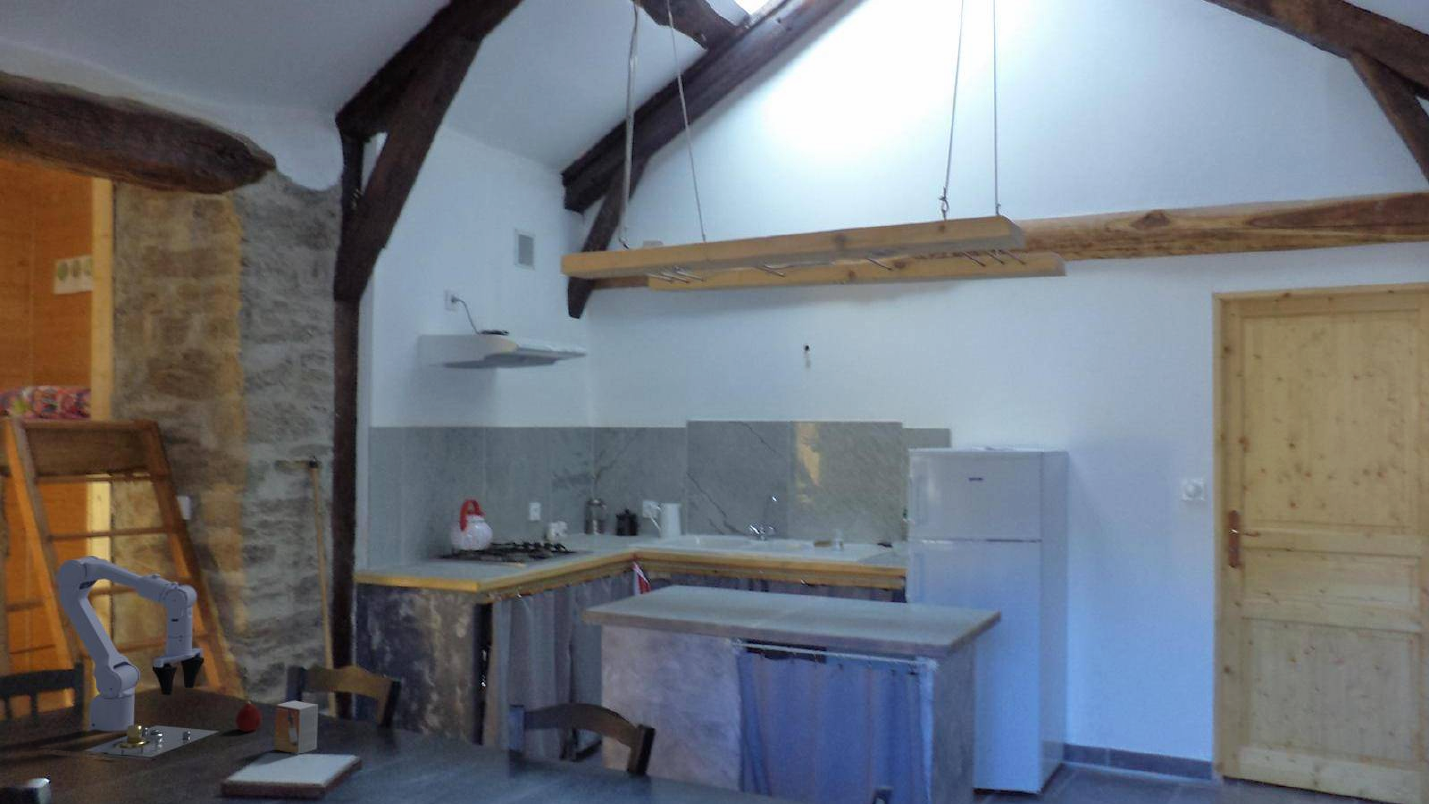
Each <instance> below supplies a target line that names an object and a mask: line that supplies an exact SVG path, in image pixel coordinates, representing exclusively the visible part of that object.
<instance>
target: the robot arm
mask: <svg viewBox="0 0 1429 804" xmlns="http://www.w3.org/2000/svg"><path fill="white" fill-rule="evenodd" d="M55 578H56V581H57V582H58V590H59V592H58V594H59V602H60V605H61V607H62V608H63V610H64V612H65V614H66V615H67V617H68V619H69V620H70V622H71V624H72V626H73V628H74V629H75V632H76V633H77V635H78V636H79V638H80V640H81V641H82V643H83V645H84V647H85V648H86V651H87V653H88V654H89V656H90V658H91V659H92V661H93V663H94V668H93V672H92V675H93V676H94V679H95V687H96V691H97V692H98V694H97V695H95V696H94V697H93V698H92V700H91V702H90V704H89V722H88V723H89V725H88V730H86V732H90V731H94V730H97V731H102V732H120V731H127V727H128V726H130V725H135V722H134V721H135V690H136V689H135V687H136V686H137V684H139V682H140V680H141V673H140V670H139V668H138V667H137V666H136V665H134V664H132V663H131V661H130V660H129V659H128V657H127V656H125V655H123V654H122V653H120V652H118V650H117V648H116V646H115V645H114V643H113V641H112V640H111V638H110V636H109V634H108V633H107V631H106V629H105V627H104V625H103V624H102V622H101V620H100V618H99V616H98V615H97V613H96V612H95V609H94V608H93V606H92V605H91V603H90V600H89V599H88V597H89V594H90V592H91V589H92V588H93V587H94V585H95V584H96V583H97V582H98V581H102V580H107V581H110V582H113V583H116V584H119V585H122V586H125V587H128V588H132V589H134V590H136V593H137V595H138V596H139V597H141V598H143V599H147V600H149V601H150V602H151V601H152V602H154V603H157V604H159V605H162V606H163V607H164V608H165V610H166V612H167V613H166V641H165V642H166V645H165V646H166V650H165V654H163V655H161V656H159V657H156V658H154V659H153V665H152V671H153V673H154V674H155V676H156V678H157V681H158V684H159V686H160V690H161V694H162V695H163V696H171V695H172V693H173V687H174V679H175V676H176V675H175V674H176V672H177V669H178V666H172V664H176V663H178V662H180V664H181V668H182V671H183V672H182V673H183V686H184V688H187V689H192V688H193V689H194V687H195V684H196V679H197V677H198V674H199V671H200V669H201V667H202V665H203V664H204V662H205V658H204V657H203V655H204V653H203V652H204V648H203V647H195V648H193V628H194V627H193V622H194V618H193V617H194V605H195V604H196V602H197V601H198V593H197V591H196V589H195V588H194V587H193V586H191V585H189V584H182V585H179V582H177V581H170V580H167V579H165V578H161V575H160V574H158V573H153V574H152V573H151V574H150V573H149V574H147V575H145V576H142V575H140V574H137V572H133V571H131V570H129V569H126V568H124V567H122V566H119V565H117V564H115V563H112V562H110V561H109V560H107V559H105V558H99V557H98V556H95V555H88V556H85V557H80V558H77V559H68V560H65V561H64V562H62V564H61V565H60V567H59V568H58V571H57V573H56V575H55Z"/></svg>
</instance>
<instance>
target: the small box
mask: <svg viewBox="0 0 1429 804" xmlns="http://www.w3.org/2000/svg"><path fill="white" fill-rule="evenodd" d="M318 719H319V704H316V703H310V702H309V703H308V702H304V701H298V700H291V701H287V702H284V703H278V704H276V705H275V726H274V727H275V729H274V732H275V733H274V750H277V751H281V752H285V753H289V752H293V753H302V754H305V753H307V752H308V753H309V752H311V751H314V750H317V747H318V746H317V743H318ZM293 753H292V754H293Z"/></svg>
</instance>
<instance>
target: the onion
mask: <svg viewBox="0 0 1429 804" xmlns="http://www.w3.org/2000/svg"><path fill="white" fill-rule="evenodd" d="M261 722H262V712H261V711H260V710H259V708H258V707H257V706H256V705H253V703H252V702H251V701H250V700H248V701H246V704H245V705H244V706H242V707H241V708H240V709H239V711H237V714H236V717H235V725H236V726H237V728H238V729H240V731H241V732H245V733H247V732H248V733H249V732H253V731H255V730H256V729H258V727H259V726H260V725H261Z"/></svg>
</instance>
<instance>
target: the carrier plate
mask: <svg viewBox="0 0 1429 804" xmlns="http://www.w3.org/2000/svg"><path fill="white" fill-rule="evenodd" d="M216 733H219V730H208V729H198V728H196V729H195V728H187V727H185V728H184V727H175V726H165V725H164V726H163V725H155V726H151V727H149V728H148V727H147V726H146V727H143V726H142V739H143V738H144V739H146V740H149V744H146V745H143V746H140V747H133V748H119V743H122V741H125V740H127V735H126V736H123V737H120V738H116V739H114V740H111V741H108V742H105V743H102V744H99V745H97V746H94V747H91V748H87V749H85V750H84V755H85V754H90V755H89V756H92V755H100V756H99V757H102V756H105V758H114V759H123V760H136V761H142V762H143V761H144V762H154V761H156V760H157V758H153V757H156V756H158V755H160V754H163V753H166V752H168V751H171V750H173V749H177V748H179V747H181V746H184V745H187V744H189V743H192V742H195V741H198V740H201V739H202V738H205V737H208V736H211V735H214V734H216ZM97 752H98V753H97ZM106 753H107V754H106ZM136 756H137V757H136Z"/></svg>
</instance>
